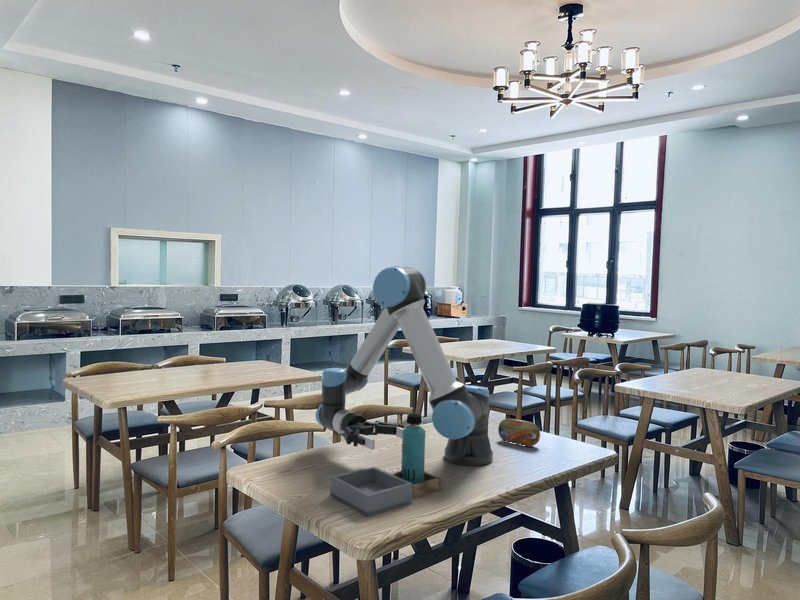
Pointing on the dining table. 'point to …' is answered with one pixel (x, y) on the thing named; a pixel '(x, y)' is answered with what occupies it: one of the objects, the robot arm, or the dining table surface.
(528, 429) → the tin
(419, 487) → the box
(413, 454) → the beverage bottle
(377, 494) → the tub
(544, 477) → the dining table surface
